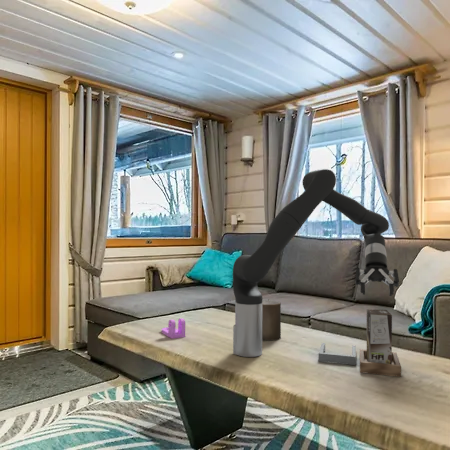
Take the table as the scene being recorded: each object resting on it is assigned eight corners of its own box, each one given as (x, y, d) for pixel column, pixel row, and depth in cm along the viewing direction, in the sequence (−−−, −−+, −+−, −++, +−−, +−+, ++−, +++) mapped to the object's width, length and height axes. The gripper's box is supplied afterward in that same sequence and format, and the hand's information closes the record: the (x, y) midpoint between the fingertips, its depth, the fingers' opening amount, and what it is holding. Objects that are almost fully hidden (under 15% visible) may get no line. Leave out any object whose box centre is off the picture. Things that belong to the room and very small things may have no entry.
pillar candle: (285, 339, 156) (285, 300, 156) (264, 341, 152) (264, 301, 152) (272, 333, 165) (272, 296, 165) (251, 335, 160) (251, 298, 161)
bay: (318, 361, 129) (318, 353, 129) (321, 349, 142) (321, 342, 142) (355, 365, 126) (355, 357, 126) (355, 353, 138) (355, 345, 138)
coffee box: (392, 369, 119) (392, 315, 120) (369, 367, 121) (369, 313, 121) (387, 360, 128) (387, 309, 129) (366, 358, 130) (366, 308, 130)
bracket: (185, 337, 158) (185, 319, 158) (172, 339, 155) (172, 320, 155) (172, 330, 169) (172, 313, 169) (159, 331, 166) (159, 314, 166)
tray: (360, 372, 119) (360, 362, 119) (359, 358, 133) (359, 349, 133) (401, 376, 116) (401, 366, 116) (396, 361, 129) (396, 352, 129)
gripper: (355, 250, 148) (355, 286, 137) (397, 251, 144) (400, 288, 132) (355, 264, 153) (355, 299, 142) (396, 265, 148) (399, 301, 137)
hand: (377, 293), depth 137 cm, fingers open, 8 cm apart
